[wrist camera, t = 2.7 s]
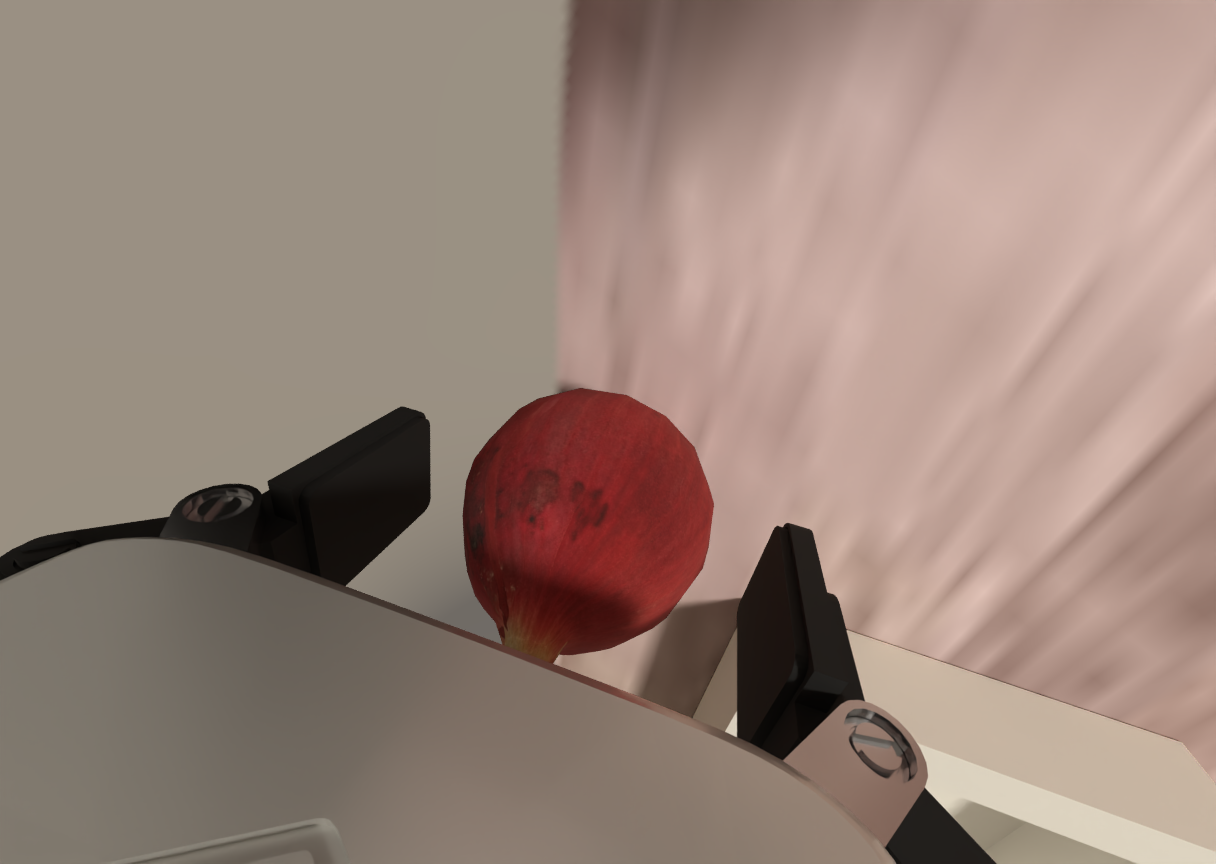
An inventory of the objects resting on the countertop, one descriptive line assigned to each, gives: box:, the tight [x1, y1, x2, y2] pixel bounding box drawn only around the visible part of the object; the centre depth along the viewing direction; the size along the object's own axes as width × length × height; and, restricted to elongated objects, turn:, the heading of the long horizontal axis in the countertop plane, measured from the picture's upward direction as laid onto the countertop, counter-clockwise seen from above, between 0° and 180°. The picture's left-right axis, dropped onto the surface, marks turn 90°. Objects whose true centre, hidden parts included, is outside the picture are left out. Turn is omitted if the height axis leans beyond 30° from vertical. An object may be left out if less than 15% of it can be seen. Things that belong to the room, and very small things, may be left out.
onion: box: [463, 388, 714, 664], centre depth 11 cm, size 6×6×8 cm
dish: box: [693, 628, 1216, 864], centre depth 16 cm, size 13×13×3 cm
